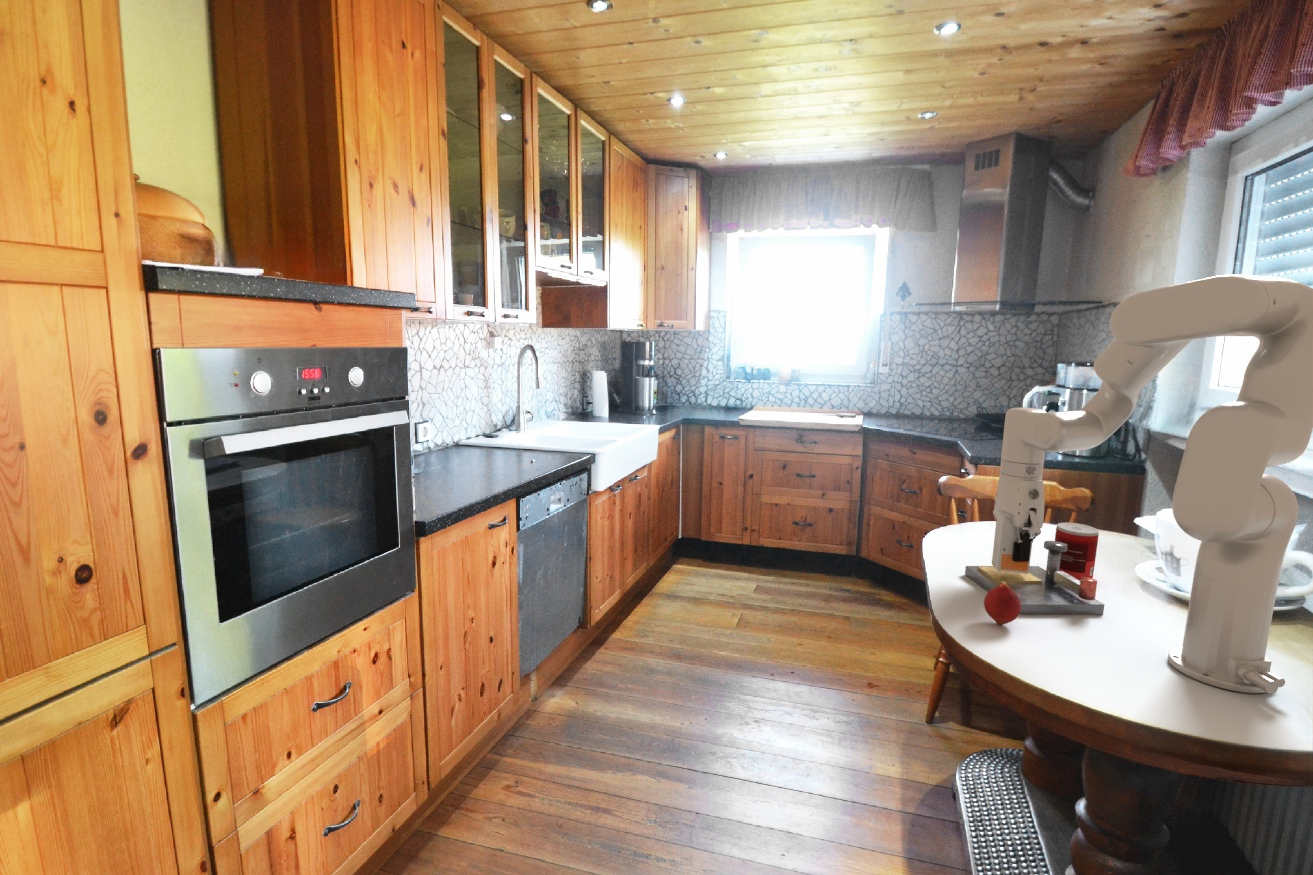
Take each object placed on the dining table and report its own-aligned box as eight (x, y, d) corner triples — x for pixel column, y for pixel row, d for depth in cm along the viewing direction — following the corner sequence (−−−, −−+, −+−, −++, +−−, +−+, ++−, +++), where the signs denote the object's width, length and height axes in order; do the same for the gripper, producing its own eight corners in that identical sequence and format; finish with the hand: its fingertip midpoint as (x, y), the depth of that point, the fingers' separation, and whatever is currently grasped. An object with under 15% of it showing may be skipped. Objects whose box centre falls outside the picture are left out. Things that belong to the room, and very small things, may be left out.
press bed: (1103, 614, 122) (1110, 563, 120) (1019, 614, 121) (1025, 563, 120) (1037, 574, 142) (1042, 530, 140) (964, 574, 141) (969, 530, 139)
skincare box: (997, 571, 133) (1003, 514, 131) (991, 564, 137) (996, 509, 136) (1029, 574, 132) (1036, 516, 130) (1022, 567, 136) (1028, 511, 134)
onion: (1014, 619, 119) (1018, 578, 118) (1022, 633, 114) (1027, 590, 112) (979, 615, 121) (983, 574, 119) (985, 629, 115) (990, 586, 114)
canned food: (1080, 571, 145) (1086, 523, 143) (1100, 584, 137) (1107, 534, 135) (1043, 569, 145) (1049, 521, 144) (1062, 582, 138) (1068, 532, 136)
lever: (1051, 580, 131) (1053, 563, 130) (1063, 580, 131) (1065, 563, 130) (1084, 600, 121) (1086, 582, 120) (1098, 600, 121) (1100, 582, 120)
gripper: (1067, 479, 123) (1056, 571, 126) (1014, 461, 140) (1006, 543, 143) (1028, 478, 123) (1018, 571, 126) (980, 461, 140) (972, 543, 142)
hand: (1012, 555), depth 134 cm, fingers closed on skincare box, 5 cm apart
